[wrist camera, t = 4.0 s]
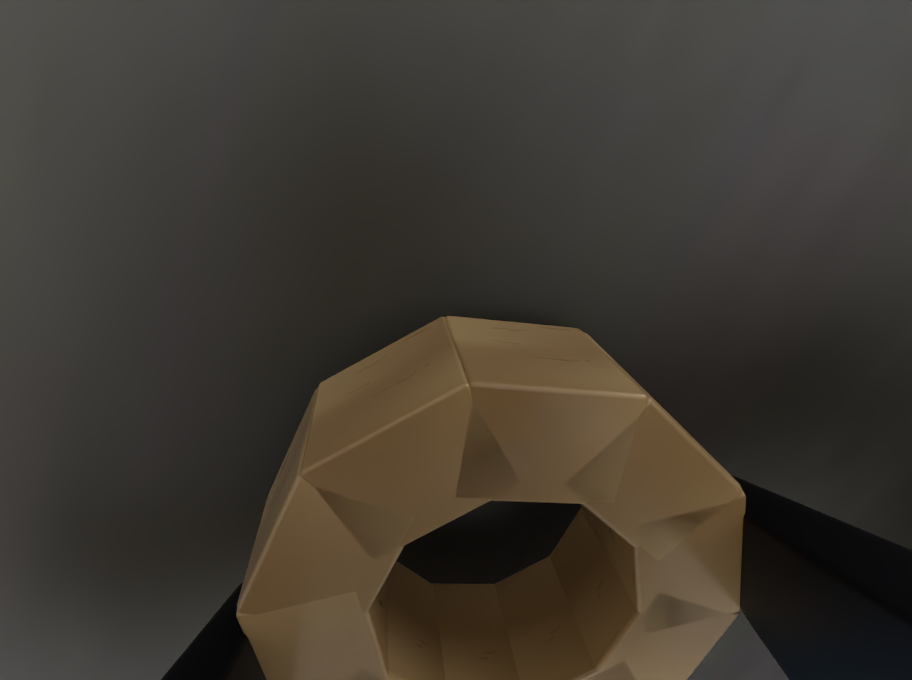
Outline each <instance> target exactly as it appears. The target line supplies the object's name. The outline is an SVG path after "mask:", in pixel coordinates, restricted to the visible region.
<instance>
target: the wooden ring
mask: <svg viewBox="0 0 912 680" xmlns="http://www.w3.org/2000/svg"><path fill="white" fill-rule="evenodd" d="M489 501H511V502H539V503H568V504H581V508H580V510H579V511H578V513H577V514H576V516H575V518H574V519H573V521H572V522H571V524H570V525H569V527H568V528H567V530H566V531H565V533H564V535H563V536H562V538H561V539H560V541H559V542H558V544H557V545H556V547H555V548H554V550H553V552H552V553H551V555H550V556H548V557H546V558H544V559H542V560H540V561H538V562H536V563H534V564H532V565H530V566H528V567H526V568H524V569H523V570H521V571H519V572H517V573H515V574H513V575H511V576H509V577H507V578H505V579H503V580H501V581H499V582H497V583H495V584H441V583H430V582H428V581H427V580H425V579H424V578H422V577H420V576H419V575H417V574H416V573H414V572H413V571H411V570H409V569H408V568H406V567H405V566H403V565H402V564H400V563H399V562H397V561H396V560H397V558H398V557H399V555H400V553H401V551H402V549H403V547H404V546H405V545H407V544H409V543H411V542H413V541H414V540H416V539H418V538H420V537H422V536H424V535H426V534H428V533H430V532H432V531H434V530H436V529H437V528H439V527H441V526H443V525H445V524H447V523H449V522H451V521H453V520H455V519H457V518H458V517H460V516H462V515H464V514H466V513H468V512H470V511H472V510H474V509H476V508H478V507H480V506H481V505H483V504H485V503H487V502H489ZM745 508H746V496H745V493H744V491H743V490H742V488H741V485H740V484H739V483H738V482H737V481H736V480H735V479H734V478H733V477H732V476H731V475H730V474H729V473H728V472H727V471H726V470H725V469H724V468H723V467H722V466H721V465H720V464H719V463H718V462H717V461H716V460H715V459H714V458H713V457H712V456H711V455H710V454H709V453H708V452H707V451H706V450H705V449H704V448H703V447H702V446H701V445H700V444H699V443H698V442H697V441H696V440H695V439H694V438H693V437H692V436H691V435H690V434H689V433H688V432H687V431H686V430H685V429H684V428H683V427H682V426H681V425H680V424H679V423H678V422H677V421H676V420H675V419H674V418H673V417H672V416H671V415H670V414H669V413H668V412H667V411H666V410H665V409H664V408H663V407H662V406H661V405H660V404H659V403H658V402H657V401H656V400H655V399H654V398H653V397H652V396H651V395H650V394H649V393H648V392H646V391H645V390H644V389H643V388H642V387H641V386H640V385H639V384H638V383H637V382H636V381H635V380H634V379H633V378H632V377H631V376H630V375H629V374H628V373H627V372H626V371H625V370H624V369H623V368H622V367H621V366H620V365H619V364H618V363H617V362H616V361H615V360H614V359H613V358H612V357H611V356H610V355H609V354H608V353H607V352H605V351H604V350H603V349H602V348H601V347H600V346H599V345H598V344H597V343H596V342H595V341H594V340H593V339H592V338H591V337H590V336H589V335H588V334H587V333H584V332H582V331H581V330H580V329H578V328H570V327H560V326H550V325H539V324H529V323H518V322H508V321H497V320H487V319H477V318H466V317H456V316H446V317H445V318H444V317H440V318H438V319H436V320H434V321H432V322H431V323H429V324H427V325H425V326H423V327H421V328H420V329H418V330H416V331H414V332H412V333H410V334H409V335H407V336H405V337H403V338H401V339H399V340H398V341H396V342H394V343H392V344H390V345H388V346H387V347H385V348H383V349H381V350H379V351H378V352H376V353H374V354H372V355H370V356H368V357H367V358H365V359H363V360H361V361H359V362H357V363H356V364H354V365H352V366H350V367H348V368H346V369H345V370H343V371H341V372H339V373H337V374H335V375H334V376H332V377H330V378H328V379H326V380H324V381H323V382H321V383H320V384H319V387H318V388H317V389H316V390H315V391H314V393H313V395H312V398H311V400H310V402H309V404H308V407H307V409H306V411H305V413H304V416H303V418H302V420H301V422H300V425H299V427H298V429H297V431H296V434H295V436H294V438H293V440H292V443H291V445H290V447H289V449H288V452H287V454H286V456H285V458H284V461H283V463H282V465H281V467H280V470H279V472H278V474H277V476H276V479H275V481H274V483H273V485H272V487H271V490H270V492H269V494H268V498H267V501H266V505H265V508H264V512H263V515H262V519H261V522H260V526H259V529H258V533H257V536H256V540H255V543H254V546H253V550H252V553H251V557H250V560H249V564H248V567H247V571H246V574H245V578H244V581H243V585H242V588H241V592H240V595H239V599H238V602H237V612H236V616H237V619H238V622H239V624H240V626H241V628H242V631H243V633H244V634H245V635H246V636H247V637H248V639H249V641H250V644H251V646H252V648H253V650H254V653H255V655H256V657H257V659H258V662H259V664H260V666H261V668H262V671H263V673H264V675H265V677H266V680H687V679H688V678H689V676H690V675H691V674H692V673H693V671H694V670H695V669H696V668H697V666H698V665H699V664H700V663H701V661H702V660H703V659H704V658H705V656H706V655H707V654H708V653H709V651H710V650H711V649H712V648H713V646H714V645H715V644H716V643H717V641H718V640H719V639H720V638H721V637H722V635H723V634H724V633H725V632H726V630H727V629H728V628H729V627H730V625H731V624H732V623H733V622H734V620H735V619H736V618H737V617H738V614H739V612H738V611H740V609H741V608H740V587H741V563H742V538H743V517H744V514H745Z"/></svg>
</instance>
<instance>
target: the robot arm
mask: <svg viewBox="0 0 912 680" xmlns="http://www.w3.org/2000/svg"><path fill="white" fill-rule="evenodd" d="M731 476H732V475H731ZM732 477H733V478H734V479H735V480H736V481H737V482H738V483H739V484H740V485H741V488H742V490H743V491H744V493H745V496H746V508H745V514H744V517H743V538H742V563H741V587H740V608H741V610H742V611H743V613H744V615H745V616H746V618H747V619H748V621H749V622H750V624H751V625H752V627H753V628H754V630H755V631H756V633H757V634H758V636H759V637H760V639H761V640H762V641H763V643H764V644H765V646H766V647H767V648H768V650H769V651H770V653H771V654H772V656H773V657H774V658H775V660H776V661H777V663H778V664H779V666H780V667H781V668H782V670H783V671H784V673H785V674H786V675H787V677H788V678H789V680H912V550H909V549H907V548H905V547H902V546H900V545H897V544H895V543H893V542H890V541H888V540H885V539H883V538H881V537H878V536H876V535H874V534H871V533H869V532H866V531H864V530H862V529H859V528H857V527H854V526H852V525H850V524H847V523H845V522H842V521H840V520H838V519H835V518H833V517H830V516H828V515H826V514H823V513H821V512H818V511H816V510H814V509H811V508H809V507H807V506H804V505H802V504H799V503H797V502H795V501H792V500H790V499H787V498H785V497H783V496H780V495H778V494H775V493H773V492H771V491H768V490H766V489H763V488H761V487H759V486H756V485H754V484H751V483H749V482H747V481H744V480H742V479H739V478H737V477H735V476H732ZM242 585H243V582H242V583H241V584H240V585H239V586H238V587H237V588H236V590H235V591H234V592H233V593H232V594H231V596H230V597H229V598H228V599H227V601H226V602H225V603H224V604H223V605H222V607H221V608H220V609H219V610H218V611H217V613H216V614H215V615H214V616H213V617H212V619H211V620H210V621H209V622H208V624H207V625H206V626H205V627H204V628H203V630H202V631H201V632H200V633H199V634H198V636H197V637H196V638H195V639H194V640H193V642H192V643H191V644H190V645H189V646H188V648H187V649H186V650H185V651H184V653H183V654H182V655H181V656H180V657H179V659H178V660H177V661H176V662H175V663H174V665H173V666H172V667H171V668H170V669H169V671H168V672H167V673H166V674H165V676H164V677H163V678H162V679H161V680H266V677H265V675H264V673H263V671H262V668H261V666H260V664H259V662H258V659H257V657H256V655H255V653H254V650H253V648H252V646H251V644H250V641H249V639H248V637H247V636H246V635H245V634H244V633H243V631H242V628H241V626H240V624H239V622H238V619H237V616H236V612H237V602H238V599H239V595H240V592H241V588H242Z"/></svg>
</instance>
